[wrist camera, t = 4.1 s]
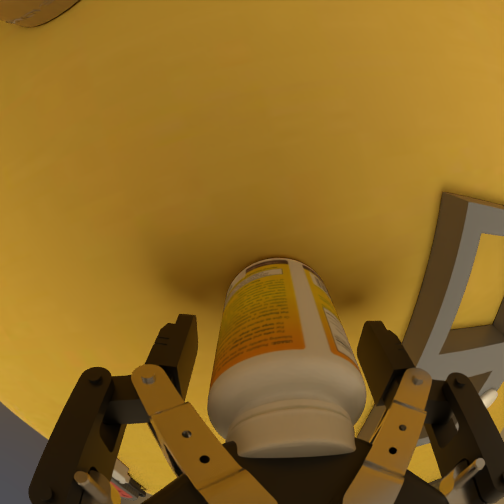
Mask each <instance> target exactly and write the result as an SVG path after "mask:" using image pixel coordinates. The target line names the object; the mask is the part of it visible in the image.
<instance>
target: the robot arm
mask: <svg viewBox="0 0 504 504" xmlns="http://www.w3.org/2000/svg"><path fill="white" fill-rule="evenodd" d="M77 1H78V0H0V20H2V21H6V22H7V23H11V24H12V23H13V24H16V25H20V26H24V27H35V26H38V25H41V24H44V23H46V22H48V21H50V20H51V19H53V18H55V17H57V16H58V15H60V14H61V13H63V12H64V11H66V10H67V9H68V8H70V7H71V6H72V5H73V4H74V3H76V2H77ZM197 350H198V336H197V322H196V315H188V314H179V316H178V318H177V321H176V323H175V324H171V323H168V324H167V325H165V326H164V327H163V328H162V329H161V330H160V332H159V334H158V336H157V338H156V341H155V344H154V345H153V347H152V349H151V351H150V353H149V356H148V358H147V360H146V362H145V364H144V365H142V366H139V367H137V368H136V369H135V370H134V371H133V372H132V374H131V375H127V376H111V373H110V372H109V371H108V370H107V369H105V368H102V367H93V368H90V369H87V370H86V371H84V372H83V373H82V375H81V376H80V378H79V380H78V382H77V384H76V386H75V388H74V389H73V391H72V393H71V395H70V397H69V399H68V401H67V403H66V405H65V407H64V409H63V411H62V413H61V415H60V417H59V419H58V421H57V423H56V425H55V428H54V430H53V432H52V434H51V436H50V438H49V441H48V443H47V445H46V447H45V450H44V452H43V454H42V456H41V459H40V461H39V464H38V466H37V468H36V471H35V473H34V476H33V478H32V481H31V484H30V486H29V498H30V500H31V502H32V504H121V497H120V494H119V492H118V491H117V489H116V488H115V487H114V486H113V485H112V484H111V483H110V481H111V478H112V474H113V470H114V467H115V463H116V459H117V456H118V452H119V449H120V445H121V442H122V439H123V435H124V432H125V429H126V425H127V424H134V423H147V425H148V427H149V429H150V431H151V432H152V434H153V436H154V438H155V440H156V441H157V443H158V445H159V447H160V449H161V450H162V452H163V454H164V456H165V458H166V460H167V461H168V463H169V465H170V467H171V469H172V470H173V472H174V473H175V475H176V476H177V478H176V479H175V480H174V481H172V482H171V483H169V484H168V485H167V486H165V487H164V488H163V489H161V490H160V491H158V492H157V493H156V494H154V495H153V496H151V497H150V498H149V499H147V500H145V501H144V502H143V503H141V504H494V503H496V502H497V501H499V500H500V499H501V498H503V497H504V442H503V440H502V438H501V436H500V433H499V431H498V429H497V427H496V426H495V424H494V422H493V420H492V418H491V416H490V414H489V412H488V410H487V409H486V407H485V405H484V403H483V401H482V400H481V398H480V396H479V394H478V393H477V391H476V389H475V387H474V386H473V384H472V382H471V381H470V379H469V378H468V377H467V376H466V375H464V374H462V373H458V372H454V373H451V374H449V375H448V377H447V379H446V381H444V380H434V379H432V378H431V376H430V374H429V373H428V372H426V371H425V370H423V369H421V368H416V367H415V365H414V364H413V362H412V360H411V358H410V357H409V355H408V353H407V352H406V350H405V348H404V347H403V345H401V342H400V340H399V338H398V337H397V336H396V335H395V334H394V333H393V332H391V331H390V330H387V329H386V328H385V326H384V324H383V323H382V321H366V322H365V324H364V327H363V330H362V334H361V337H360V340H359V343H358V347H357V357H358V360H359V362H360V365H361V367H362V370H363V373H364V375H365V378H366V380H367V383H368V386H369V388H370V391H371V394H372V397H373V399H374V402H375V405H376V406H384V405H385V407H386V410H385V412H384V413H383V415H382V418H381V420H380V422H379V424H378V426H377V427H376V429H375V431H374V433H373V435H372V437H371V439H370V441H369V442H367V441H365V440H362V439H359V438H354V440H355V446H356V450H355V451H354V452H351V453H346V454H338V455H327V456H314V457H292V458H249V457H241V456H239V455H238V453H237V444H236V443H235V442H234V441H229V442H227V443H224V444H221V443H220V442H219V440H218V439H217V438H216V437H215V435H214V434H213V433H212V431H211V430H210V429H209V427H208V426H207V425H206V424H205V422H204V421H203V420H202V418H201V417H200V415H199V414H198V413H197V411H196V410H195V409H194V407H193V406H192V405H191V403H189V402H186V403H185V402H184V401H185V398H186V394H187V390H188V386H189V382H190V378H191V374H192V370H193V367H194V363H195V359H196V355H197ZM453 415H455V417H456V420H457V422H458V425H459V428H458V431H457V428H456V426H455V424H454V422H453V419H452V416H453ZM423 424H424V426H425V429H426V432H427V434H428V437H429V440H430V443H431V446H432V449H433V452H434V455H435V457H436V461H437V464H438V467H439V470H440V473H441V476H442V480H441V482H440V487H439V489H440V491H439V490H438V489H436V488H435V487H433V486H431V485H430V484H428V483H427V482H425V481H424V480H422V479H421V478H419V477H418V476H416V475H415V474H413V473H412V472H410V471H409V470H407V468H408V465H409V463H410V460H411V458H412V455H413V453H414V450H415V447H416V444H417V442H418V439H419V436H420V433H421V430H422V427H423Z"/></svg>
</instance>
